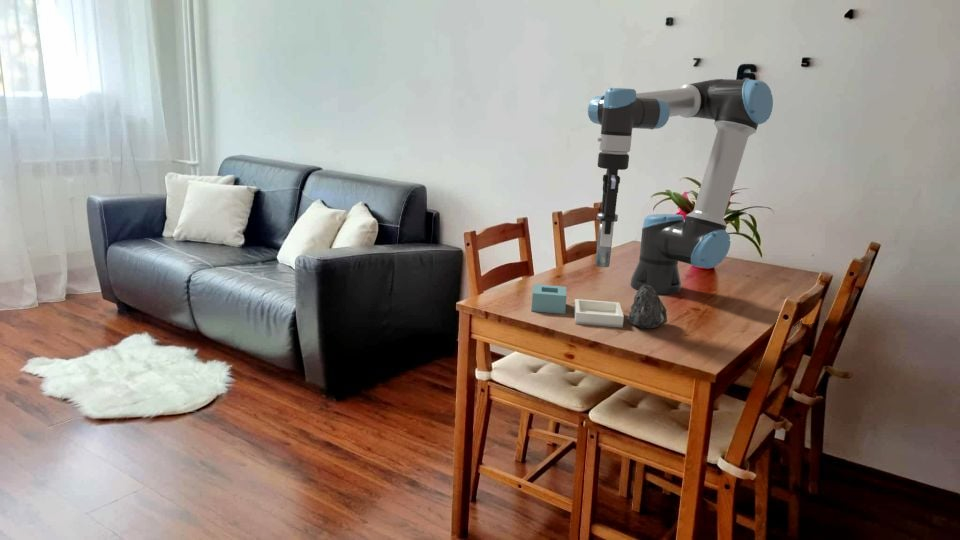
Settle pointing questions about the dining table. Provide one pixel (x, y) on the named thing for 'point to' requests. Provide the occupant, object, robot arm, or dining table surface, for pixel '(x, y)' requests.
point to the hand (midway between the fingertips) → (604, 243)
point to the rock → (647, 309)
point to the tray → (598, 313)
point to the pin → (602, 252)
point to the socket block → (549, 298)
